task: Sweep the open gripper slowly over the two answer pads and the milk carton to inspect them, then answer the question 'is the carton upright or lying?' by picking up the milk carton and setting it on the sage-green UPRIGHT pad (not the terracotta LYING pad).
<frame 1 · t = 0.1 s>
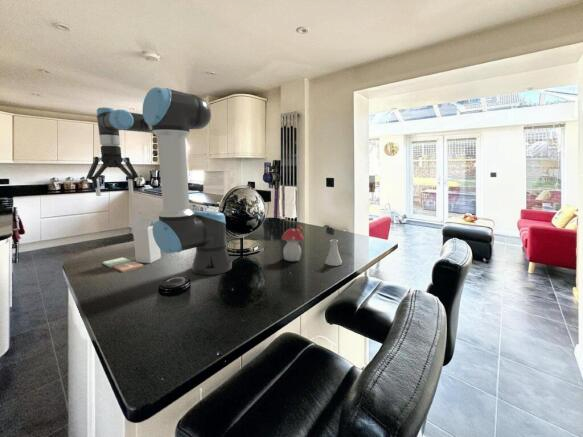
hand: (115, 194, 132), 28 cm above the table, fingers open, 13 cm apart
decorative ornament: (292, 259, 130), on the table
pad lying: (128, 267, 120), on the table
milk carton: (148, 260, 129), on the table
flask: (333, 264, 124), on the table
pad upright: (117, 263, 125), on the table
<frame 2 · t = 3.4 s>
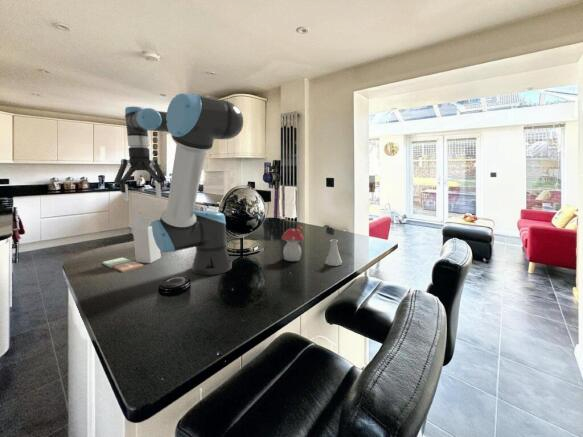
hand: (143, 199, 124), 27 cm above the table, fingers open, 13 cm apart
nothing on the table moved.
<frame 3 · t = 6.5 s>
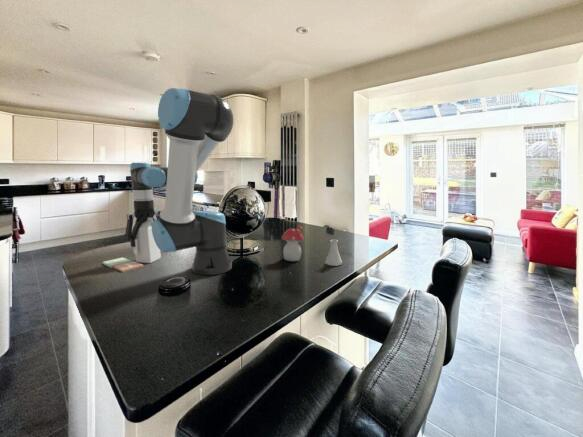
hand: (148, 251, 128), 4 cm above the table, fingers closed on milk carton, 9 cm apart
milk carton: (148, 260, 129), on the table, touching gripper
everything else where it was.
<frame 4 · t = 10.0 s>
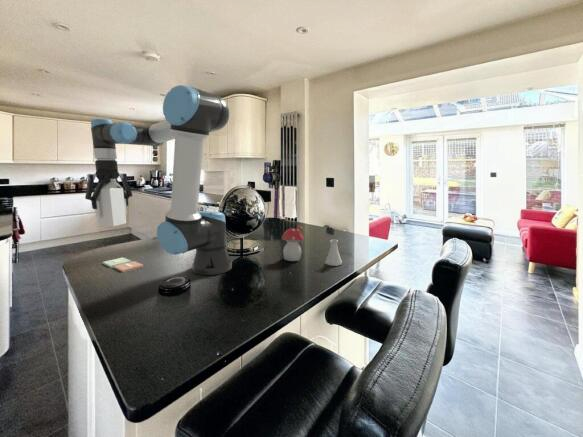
hand: (111, 215, 122), 20 cm above the table, fingers closed on milk carton, 9 cm apart
milk carton: (112, 225, 123), point 16 cm above the table, touching gripper
everything else where it was.
when the fingers open (6 cm above the table, at t = 13.4 s): milk carton stays where it is, resting on pad upright.
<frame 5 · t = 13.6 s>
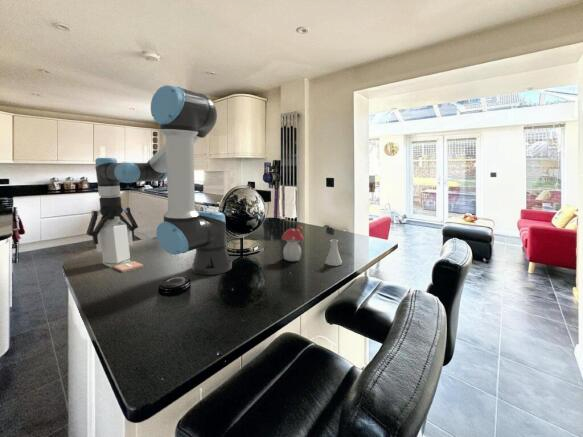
hand: (115, 248, 124), 6 cm above the table, fingers open, 11 cm apart
milk carton: (116, 261, 125), point 1 cm above the table, touching pad upright
everything else where it was.
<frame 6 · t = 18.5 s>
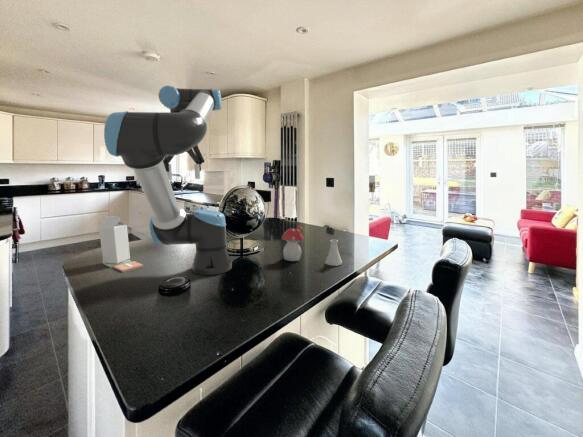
hand: (184, 179, 129), 35 cm above the table, fingers open, 13 cm apart
nothing on the table moved.
at the end: milk carton inside the target area on the pad upright (0.0 cm from its centre), point 0.8 cm above the pad upright's base; milk carton tilted 0°; the gripper is holding nothing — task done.
